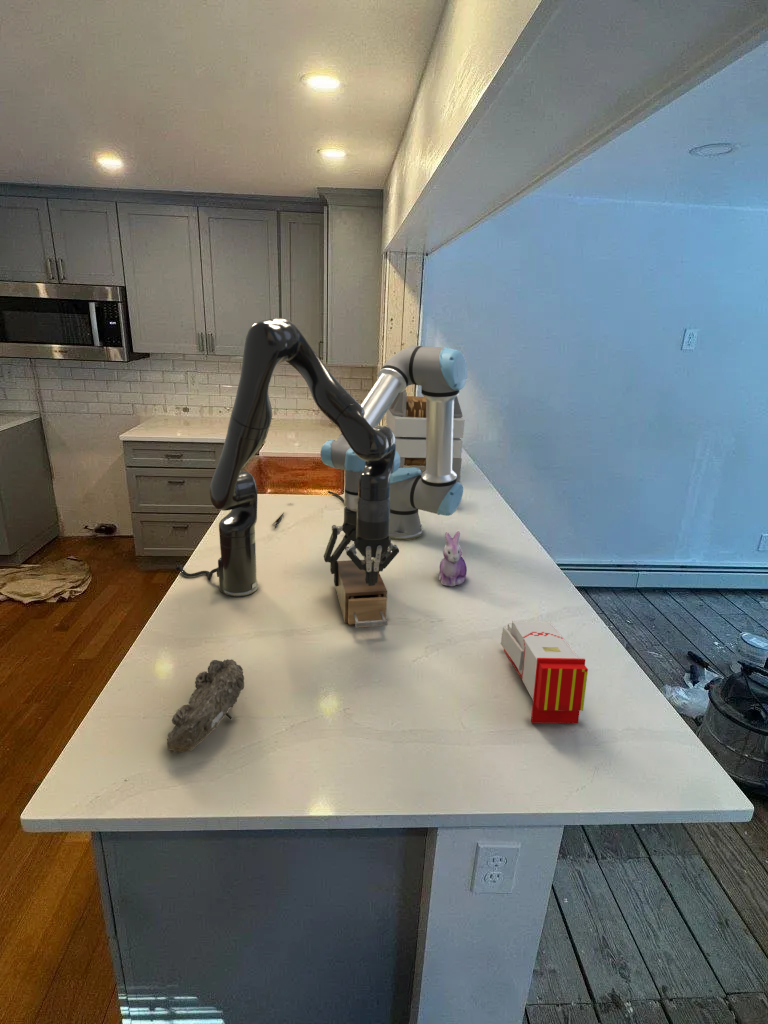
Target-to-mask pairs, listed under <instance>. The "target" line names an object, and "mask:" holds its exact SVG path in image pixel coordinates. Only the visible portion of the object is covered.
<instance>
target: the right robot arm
mask: <svg viewBox="0 0 768 1024" xmlns="http://www.w3.org/2000/svg"><path fill="white" fill-rule="evenodd" d="M468 371H469V369H468V363H467V359H466V357H465V355H464V354H463V352H462V351H460V350H459V349H455V348H451V347H441V346H426V345H425V346H424V345H423V346H422V345H411V346H408V347H405V348H403V349H401V350H400V351H398V352H396V353H395V354H394V355H392V356H391V357H389V359H388V360H386V362H385V363H384V364H383V365H382V367H381V368H380V370H379V371H378V373H377V380H376V381H375V383H374V384H373V386H372V387H371V389H370V390H369V392H368V393H367V395H366V396H365V397H364V399H363V401H362V402H361V404H360V405H361V406H362V408H363V409H364V412H365V414H364V418H365V419H366V421H367V422H368V423H369V424H370V426H371V427H375V426H379V425H380V423H381V421H382V420H383V418H384V417H385V416H386V412H387V410H388V409H389V407H390V406H391V404H392V403H393V401H394V400H395V398H396V397H397V395H398V393H401V392H403V391H404V390H406V389H407V388H408V387H409V386H411V385H414V386H420V387H421V389H420V390H421V396H422V397H425V398H426V466H425V470H424V471H422V470H421V468H419V467H412V466H411V467H408V466H406V467H404V468H399V466H400V457H399V454H398V453H397V451H395V458H394V463H393V467H392V471H391V475H390V526H389V538H390V540H395V541H410V540H415V539H418V538H420V537H421V536H422V535H423V530H424V527H423V524H421V518H420V515H419V510H420V511H423V512H428V513H432V514H436V515H438V516H440V515H441V516H445V517H448V516H449V517H450V516H452V515H453V514H454V513H456V511H457V509H458V508H459V506H460V504H461V501H462V499H463V494H464V486H463V484H462V483H461V482H457V474H456V473H455V472H454V471H453V470H452V461H453V424H454V399H455V398H456V397H457V398H458V396H459V395H460V390H461V391H462V390H463V389H464V388H465V386H466V383H467V379H468V374H469V373H468ZM320 459H321V462H322V464H324V465H325V466H328V467H330V468H333V469H335V470H343V471H344V495H343V496H344V498H343V497H342V496H341V495H339V494H337V493H336V492H333V491H330V490H328V491H327V494H330V495H332V496H334V497H337V498H339V500H340V501H341V502H342V503H343V505H344V508H343V523H342V525H336V524H333V525H331V535H330V537H329V540H328V543H327V545H326V548H325V551H324V553H323V560H324V562H325V563H329V567H330V568H329V571H330V574H331V575H333V583H334V586H338V561H339V559H340V557H341V555H342V554H343V553H344V552H345V548H346V547H348V545H350V543H351V542H354V540H355V538H356V526H357V514H356V510H357V502H358V488H359V476H360V473H361V472H362V470H363V469H364V466H365V461H364V460H362V459H361V458H359V457H358V456H357V455H356V454H355V453H354V452H353V450H352V449H351V447H350V446H349V444H348V443H347V441H346V440H345V438H344V437H343V435H342V433H341V432H340V435H339V436H338V437H337V439H336V440H335V439H328V440H327V441H325V442H324V443H323V444H322V446H321V449H320ZM341 532H343V533H344V535H343V537H342V539H341V541H340V543H339V544H338V545H337V547H336V548H335V545H336V542H337V540H338V536H339V535H341ZM334 548H335V550H334ZM387 549H388V548H387ZM387 552H388V550H386V551H385V552H384V554H383V555H382V556H381V558H380V560H381V559H382V558H383V556H384V555H385V554H386V553H387ZM378 571H379V573H380V572H383V571H384V569H379V570H378Z"/></svg>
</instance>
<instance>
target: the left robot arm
mask: <svg viewBox="0 0 768 1024" xmlns="http://www.w3.org/2000/svg"><path fill="white" fill-rule="evenodd" d="M284 362H286V363H287V364H289V365H290V366H291V367H292V368H293V369H295V370H296V371H297V372H298V373H299V374H300V376H301V377H302V378H303V380H304V381H305V383H306V385H307V387H308V389H309V392H310V394H311V397H312V399H313V401H314V403H315V405H316V406H317V408H318V409H319V410H320V412H321V413H322V414H323V415H324V416H325V417H327V419H328V420H329V421H330V422H331V423H332V424H333V425H334V426H335V427H336V428H337V429H338V430H339V431H340V434H341V433H342V435H343V437H344V438H345V440H346V441H347V443H348V444H349V446H350V447H351V449H352V450H353V452H354V453H355V454H356V455H357V456H358V457H359V458H361V459H362V460H364V461H365V466H364V469H363V470H362V472H361V473H360V476H359V488H358V502H357V510H356V514H357V526H356V538H355V540H354V541H353V544H352V545H350V546H347V547H346V548H345V549H344V552H345V554H346V556H347V557H348V558H349V559H350V560H352V561H353V562H354V564H355V565H356V566H357V567H358V568H359V569H360V570H365V581H366V584H368V586H374V585H375V583H377V581H378V570H379V569H383V570H385V569H387V567H388V566H389V564H391V562H392V561H393V560H394V559H395V558H396V556H397V555H398V554H399V553H400V548H399V547H398V545H397V544H393V543H392V541H391V540H392V539H390V538H389V526H390V475H391V471H392V467H393V463H394V458H395V451H396V440H395V436H394V434H393V432H392V431H391V430H390V429H389V428H388V427H386V426H387V425H380V424H378V426H375V427H371V426H370V424H369V423H368V422H367V421H366V419H365V418H364V414H365V412H364V409H363V408H362V406H361V404H360V403H359V402H358V401H357V400H356V398H354V397H353V396H352V394H350V392H348V391H347V390H346V389H345V387H344V386H343V385H342V384H341V383H340V382H339V381H338V380H337V379H336V378H335V377H334V376H333V374H332V372H330V370H329V369H328V368H327V367H326V365H325V364H324V362H323V361H322V360H321V358H320V356H318V355H317V353H316V352H315V350H314V349H313V348H312V346H311V345H310V343H309V342H308V341H307V339H306V337H305V336H304V335H303V333H302V332H301V330H300V329H299V328H298V327H297V326H296V324H295V323H293V322H292V321H291V320H290V319H288V318H284V317H275V318H270V319H264V320H260V321H257V322H255V323H253V324H252V325H251V326H250V328H249V329H248V331H247V334H246V336H245V341H244V347H243V356H242V364H241V371H240V376H239V380H238V381H239V382H238V386H237V391H236V395H235V399H234V404H233V407H232V410H231V413H230V417H229V422H228V427H227V432H226V436H225V439H224V442H223V446H222V450H221V453H220V455H219V459H218V462H217V465H216V467H215V469H214V472H213V475H212V478H211V481H210V484H209V499H210V502H211V505H212V506H213V507H214V508H215V510H219V511H224V512H225V511H229V513H228V514H227V515H225V516H223V518H221V519H220V520H219V523H218V532H219V547H220V548H219V549H220V557H219V558H218V559H217V567H216V568H213V569H211V570H210V571H209V570H201V571H196V572H193V573H192V572H191V573H189V572H186V571H185V569H184V567H183V565H177V566H176V568H175V569H176V570H177V571H178V570H180V573H181V574H182V575H183V576H184V577H188V578H193V577H197V576H200V575H201V576H202V575H207V576H206V577H207V579H208V580H210V579H212V578H213V574H214V573H216V577H217V578H218V585H219V592H220V593H223V594H225V595H227V596H230V597H246V596H248V595H251V594H254V593H255V592H256V591H257V590H258V577H257V576H258V574H257V572H258V571H257V548H256V547H257V546H256V523H257V521H258V485H257V483H256V480H255V478H254V476H253V474H252V473H250V472H249V471H247V470H243V469H244V468H245V466H246V465H247V464H248V463H249V462H250V460H251V459H253V457H254V456H255V455H256V454H257V453H258V451H259V450H260V449H261V447H262V446H263V445H264V443H265V441H266V440H267V437H268V435H269V434H268V433H269V431H270V426H271V423H272V419H273V408H272V403H271V399H270V395H269V388H270V383H271V379H272V377H273V374H274V371H275V368H276V367H277V365H278V364H281V363H284ZM387 548H388V549H387ZM386 550H388V552H387V553H386V554H385V555H384V556H383V558H382V559H381V560H380V558H381V556H382V555H383V554H384V552H385V551H386ZM357 551H358V552H359V554H360V555H361V556H362V557H363V560H364V563H363V562H362V561H361V560H362V559H360V558H359V556H358V555H357ZM371 559H372V561H371ZM371 562H372V568H371ZM183 569H184V570H183ZM182 571H183V572H182Z"/></svg>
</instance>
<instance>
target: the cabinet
mask: <svg viewBox="0 0 768 1024" xmlns="http://www.w3.org/2000/svg"><path fill="white" fill-rule="evenodd" d="M360 560H361V561H362V562H363V563H364V559H360ZM337 561H338V586H335V585H334V586H335V587H334V589H335V592H336V595H337V600H338V603H339V607H340V611H341V614H342V618H343V621H344V624H347V623H348V600H349V596H361V595H377V594H381V597H386V598H387V599H388V589H387V587H386V585H385V582H384V580H383V578H382V576H381V574H380V572H379V571H378V581H377V583H375V585H374V586H368V584H366V581H365V570H360V569H359V568H358V567H357V566H356V565H355V564H354V562H353V561H352V560H351V559H350V560H337ZM371 561H372V558H371ZM371 568H372V562H371Z"/></svg>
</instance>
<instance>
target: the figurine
mask: <svg viewBox="0 0 768 1024" xmlns="http://www.w3.org/2000/svg"><path fill="white" fill-rule="evenodd" d="M444 538H445V546H444V548H443V550H442V554H443V558H442V559H441V561H440V562H439V571H438V572H439V573H438V580H439V582H440V583H441V585H442V586H447V587H455V586H457V585H458V586H460V585H461V584H463V583H464V581H465V580H466V576H467V573H468V572H467V571H468V569H467V563H466V561H465V559H464V557H463V551H462V548H461V546H460V538H461V532H460V531H459V530H458V531H456V532H455V534H454V535H453V537H452V536H451V534H450V533H449V532H448V531H446V532H445V533H444Z"/></svg>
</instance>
